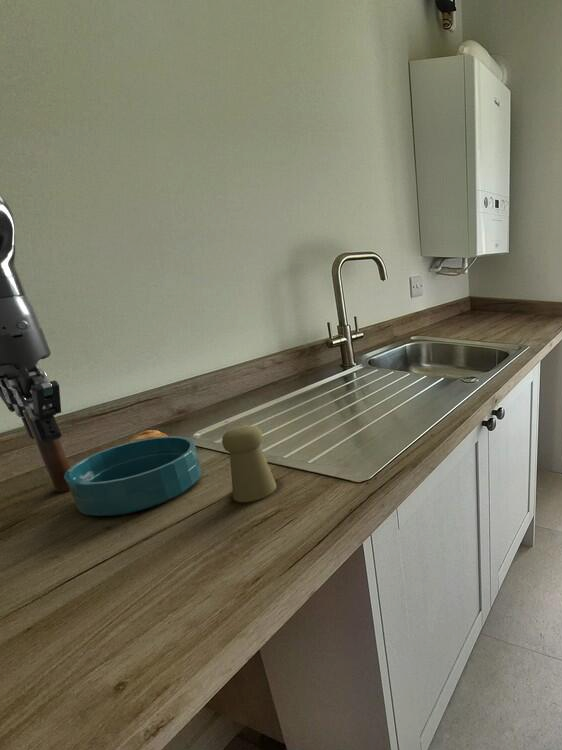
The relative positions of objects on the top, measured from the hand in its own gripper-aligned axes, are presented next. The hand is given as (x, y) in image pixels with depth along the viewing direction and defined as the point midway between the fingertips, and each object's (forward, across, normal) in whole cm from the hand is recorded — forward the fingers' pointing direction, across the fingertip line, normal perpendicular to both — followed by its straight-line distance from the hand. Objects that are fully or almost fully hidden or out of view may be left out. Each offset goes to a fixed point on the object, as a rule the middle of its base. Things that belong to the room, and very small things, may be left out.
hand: (46, 438), depth 64 cm
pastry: (+9, 0, +12) cm, 15 cm away
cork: (+9, +30, +10) cm, 33 cm away
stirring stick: (+9, 0, 0) cm, 9 cm away
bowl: (+9, +13, +4) cm, 16 cm away
